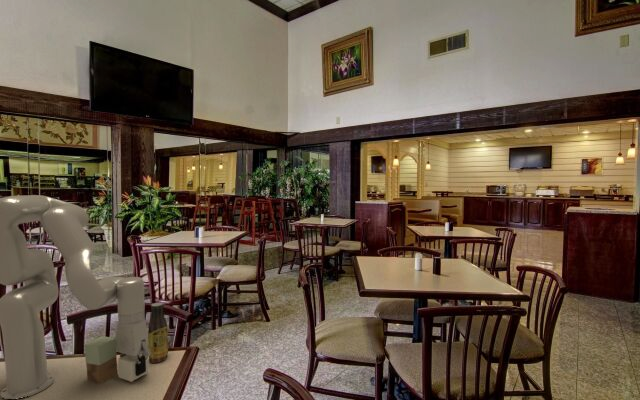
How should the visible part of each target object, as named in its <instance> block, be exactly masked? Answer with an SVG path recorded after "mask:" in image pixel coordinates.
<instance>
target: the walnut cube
mask: <svg viewBox="0 0 640 400" xmlns="http://www.w3.org/2000/svg"><path fill="white" fill-rule="evenodd" d="M85 365H86V377H87V379H86V380H87V381H89V382H91V383H94V384H95V383H96V384H98V385H100V384H102V383H104V382H106V381H107V380H109V379H111V378H113V377H115V376H117V375H119V372H118V359H117V356H116V357H114V358H112V359H110V360H108V361H107V362H105V363H103V364H101V365H95V364H90V363H86V362H85Z"/></svg>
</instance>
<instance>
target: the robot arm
mask: <svg viewBox="0 0 640 400" xmlns="http://www.w3.org/2000/svg"><path fill="white" fill-rule="evenodd" d="M32 222H33V223H34V222H40V224H41V226H42V228H43V229H44V232H45V233H46V234H47V236H48V237H49V238H50V240H51V242H52V243H53V245H54V246H55V247H56V248H57V251H58V252H59V253H60V255H61V256H62V258H63V259H64V265H65V266H64V270H65V271H64V272H65V278H66V283H67V285H68V287H69V290H70V291H71V293H72V294H73V296H74V297H75V299H76V300H77V302H79V304H80V305H81V306H83V307H84V308H85V309H88V310H99V309H102V308H103V307H105V306H107V305H108V304H109V303H111V302H113V301H115V300H116V302H117V320H118V321H117V323H116V328H115V340H116V352H118V353H119V358H121V357H123V356H125V355H130V356H135V358H136V362H137V363H136V364H135V369H136V376H139V375H141V374H143V373H144V372H146V360H147V358H148V359H149V355H150V354H151V351H150V349H149V347H148V327H147V322H146V309H145V307H146V305H145V281H144V279H143V278H142V277H140V276H128V277H121V276H113V275H112V276H105V277H103V278H101V279H99V280H98V279H97V278H96V277H95V275H94V273H93V271H92V267H91V258H92V256H93V253H94V251H95V244H94V242H93V241H92V239H91V238H90V236H89V234H88V233H87V231H86V230H85V229H84V228H85V227H86V226H87V224H88V222H89V215H88V213H87V212H86V210H85V209H84V208H83V207H81V206H80V205H77V204H74V203H71V202H70V203H69V202H67V201H64V200H60V199H57V198H53V197H50V196H46V195H41V194H38V195H37V194H31V195H29V194H28V195H10V196H3V197H0V285H3V286H14V285H18V284H21V283H24V285H22V286H20V287H17V288H14V289H12V290H11V291H8V292H6V293H5V294H3V295H2V296H1V297H0V328H1V335H2V343H3V353H4V364H5V365H4V366H5V377H6V378H5V379H6V386H5V387H4V388H3V389H2V390H1V391H0V398H1V397H2V398H4V399H16V398H21V397H25V398H28V397H31V396H34V395H37V394H39V393H40V392H42V391H44V390H46V389H48V388H49V387H50V386H52V384H53V383H54V381H55V376H54V375H53V374H52V373H48V365H47V364H48V363H47V353H46V352H47V351H46V339H45V328H44V324H43V322H42V320H41V318H40V317H39V315H38V313H40V312H41V311H44V310H45V309H47V308H49V307H51V306H52V305H53V304H54V303H55V302H56V301H57V299H58V297H59V286H58V280H57V276H56V271H55V266H54V263H53V260H52V258H51V256H50V254H48V253H47V252H46V251H45V250H43V249H39V248H29V247H28V244H27V239H26V236H25V234H24V232H23V231H22V230H21V229H20V228H19V227H18V225H20V224H25V223H32ZM140 354H142V356H141V358H139V355H140ZM27 396H28V397H27ZM2 398H1V399H2ZM4 399H3V400H4Z"/></svg>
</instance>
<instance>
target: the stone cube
mask: <svg viewBox="0 0 640 400" xmlns="http://www.w3.org/2000/svg"><path fill="white" fill-rule="evenodd" d="M141 356H142V354H140V355H139V358H141ZM136 363H137V362H136V358H135V356H130V355H125V356H123V357H121V358H120V357H119V358H118V359H117V369H118V378H120V379H123V380H126V381H128V382H131V383H132V382H134V381H135V380H137V379H139V378H141V377H142V376H144V375H146V374H147V373H149V357H148V358H147V360H146V372H144V373H143V374H141V375H139V376H136V369H135V364H136Z"/></svg>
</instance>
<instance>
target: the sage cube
mask: <svg viewBox="0 0 640 400" xmlns="http://www.w3.org/2000/svg"><path fill="white" fill-rule="evenodd" d="M84 356H85V357H84V358H85V364H86V363H90V364H95V365H101V364H103V363H105V362H107V361H108V360H110V359H112V358H114V357H116V358H117V350H116V337H109V336H103V335H102V336H99V337H97V338H95V339H93V340H91V341H89V342H87V343H85V344H84Z"/></svg>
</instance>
